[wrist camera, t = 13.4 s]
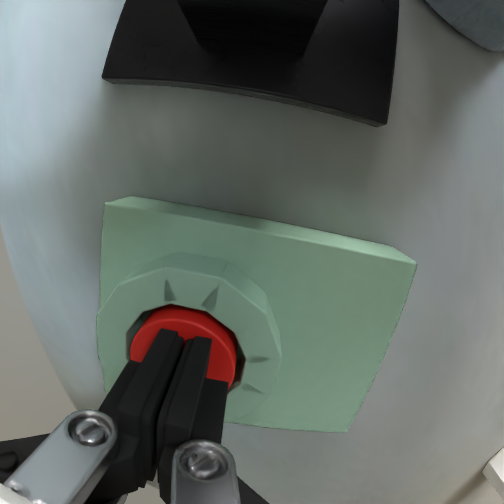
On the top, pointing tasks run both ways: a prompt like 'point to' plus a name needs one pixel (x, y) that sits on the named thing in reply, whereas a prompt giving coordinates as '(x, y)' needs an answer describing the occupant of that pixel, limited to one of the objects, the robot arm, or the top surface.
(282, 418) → the control block
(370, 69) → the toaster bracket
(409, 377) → the top surface
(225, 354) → the stop button
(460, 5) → the moka pot
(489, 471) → the pepper shaker
